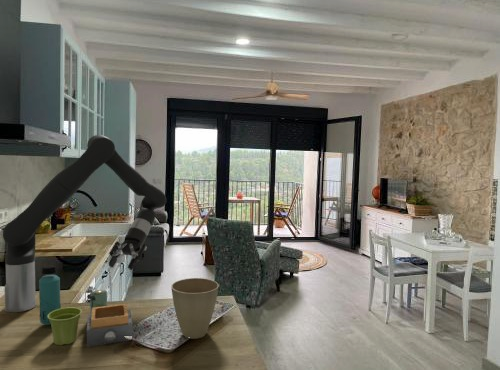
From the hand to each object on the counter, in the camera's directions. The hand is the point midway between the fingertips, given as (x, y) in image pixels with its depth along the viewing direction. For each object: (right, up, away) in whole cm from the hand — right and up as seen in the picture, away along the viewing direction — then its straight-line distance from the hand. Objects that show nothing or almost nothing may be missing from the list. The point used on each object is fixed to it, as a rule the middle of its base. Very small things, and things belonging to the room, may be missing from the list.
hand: (120, 267), depth 144 cm
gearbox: (+4, -16, -23) cm, 28 cm away
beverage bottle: (-18, -16, -16) cm, 29 cm away
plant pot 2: (+31, -17, -21) cm, 41 cm away
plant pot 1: (-8, -17, -27) cm, 33 cm away
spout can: (-4, -16, -11) cm, 20 cm away
